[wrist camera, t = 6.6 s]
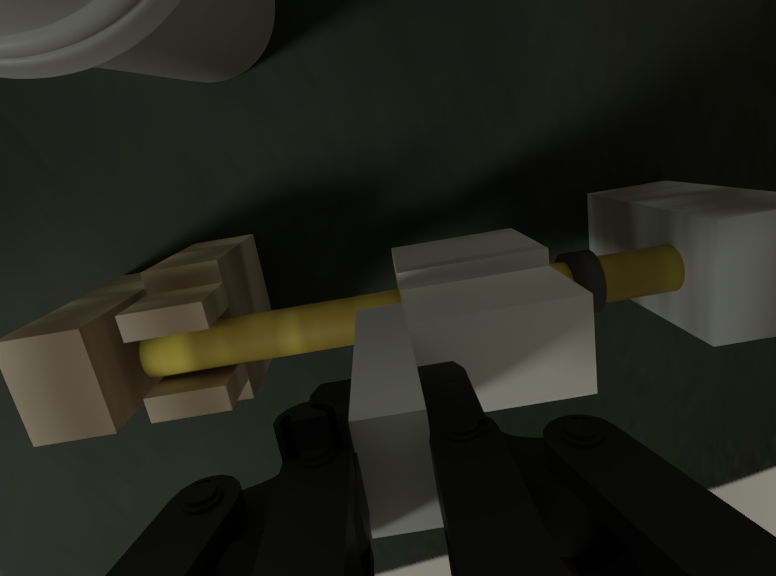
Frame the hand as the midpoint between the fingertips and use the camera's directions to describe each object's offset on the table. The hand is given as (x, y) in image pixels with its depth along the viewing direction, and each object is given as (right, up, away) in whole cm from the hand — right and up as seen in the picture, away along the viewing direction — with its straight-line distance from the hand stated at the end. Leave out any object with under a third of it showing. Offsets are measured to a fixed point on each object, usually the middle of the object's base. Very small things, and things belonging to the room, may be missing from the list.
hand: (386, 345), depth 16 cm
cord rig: (+1, +3, +10) cm, 10 cm away
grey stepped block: (+3, +2, +5) cm, 6 cm away
